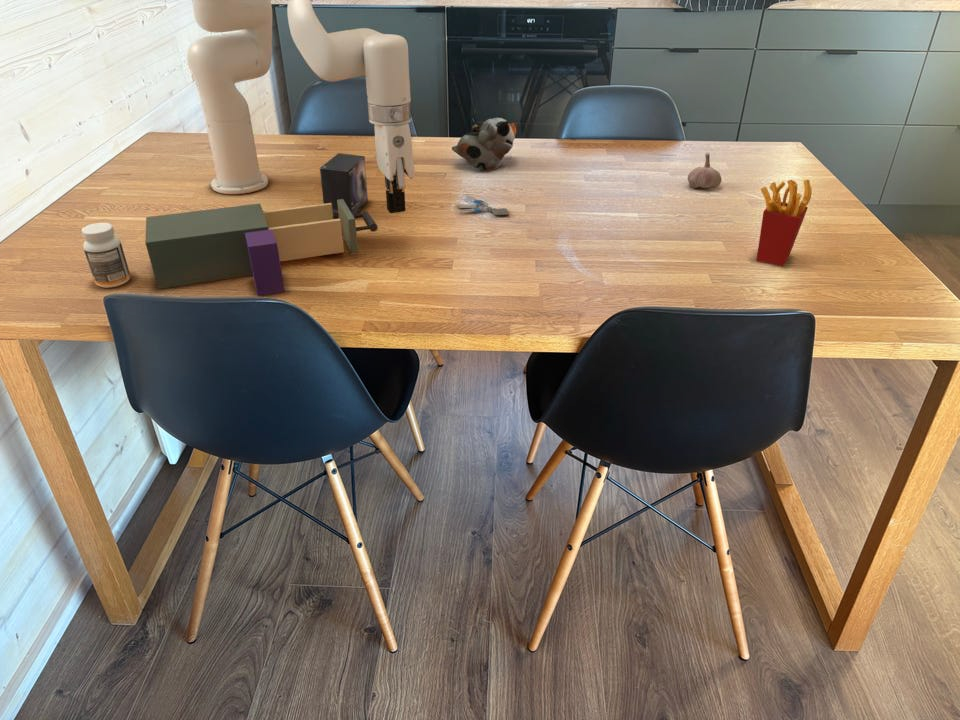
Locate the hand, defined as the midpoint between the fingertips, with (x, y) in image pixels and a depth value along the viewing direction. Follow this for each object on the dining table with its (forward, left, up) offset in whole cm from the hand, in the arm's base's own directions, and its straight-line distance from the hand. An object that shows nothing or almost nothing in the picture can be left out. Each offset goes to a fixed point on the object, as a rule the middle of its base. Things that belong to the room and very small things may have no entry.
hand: (396, 210), depth 133 cm
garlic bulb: (-5, +75, -6) cm, 75 cm away
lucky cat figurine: (-38, +33, -6) cm, 51 cm away
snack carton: (+11, -26, -6) cm, 29 cm away
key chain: (-9, +20, -6) cm, 23 cm away
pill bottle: (0, -51, -6) cm, 51 cm away
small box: (-19, -6, -6) cm, 21 cm away
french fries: (+31, +64, -6) cm, 71 cm away
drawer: (0, -16, -5) cm, 17 cm away
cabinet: (0, -34, -6) cm, 35 cm away
